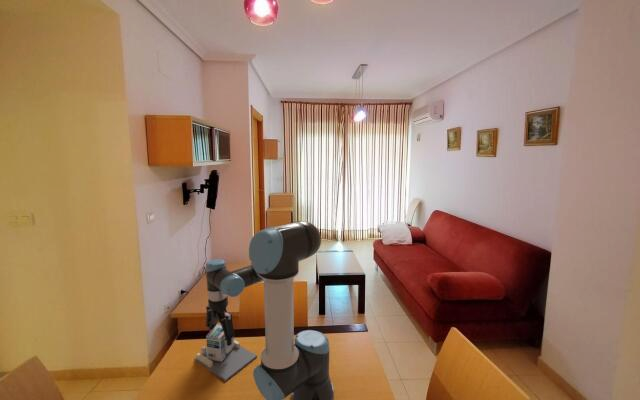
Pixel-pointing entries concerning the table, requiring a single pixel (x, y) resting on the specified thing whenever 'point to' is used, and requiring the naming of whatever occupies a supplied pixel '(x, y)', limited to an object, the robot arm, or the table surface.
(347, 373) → the table surface
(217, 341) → the light bulb box
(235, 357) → the grey base plate
